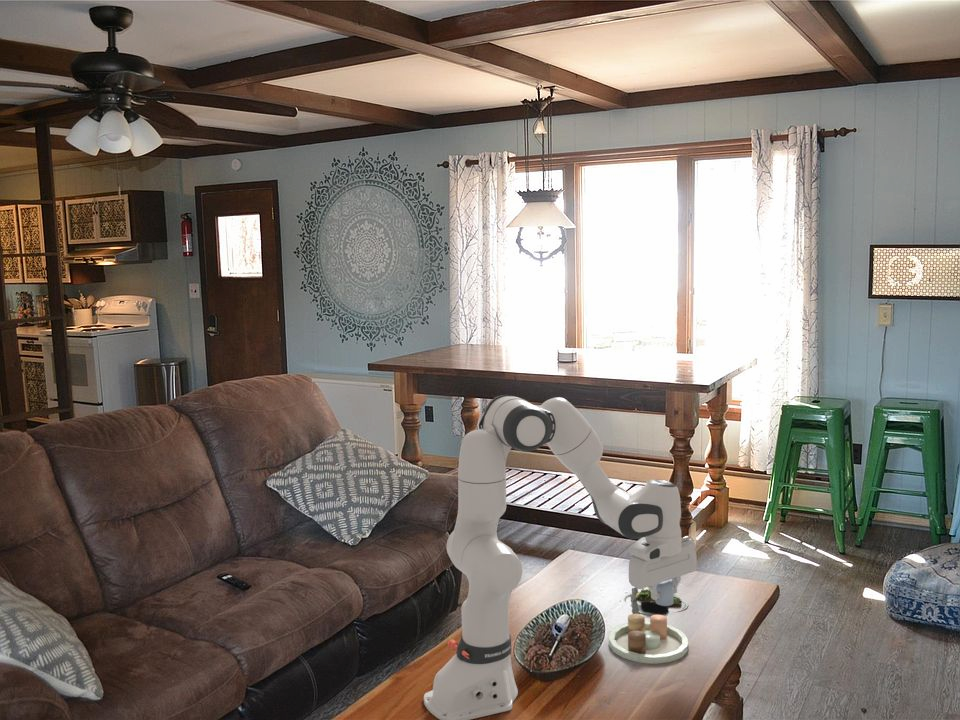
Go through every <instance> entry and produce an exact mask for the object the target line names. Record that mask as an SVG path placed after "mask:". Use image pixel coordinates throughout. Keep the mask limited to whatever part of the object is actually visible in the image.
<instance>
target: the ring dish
mask: <svg viewBox="0 0 960 720" xmlns="http://www.w3.org/2000/svg"><path fill="white" fill-rule="evenodd" d="M642 632H644V633H645V634H646V654H639V653H635V652H632V651H628V622H627V623H624V624H621V625H618V626H616V627H615V628H614V629H612V630H611V631H610V633H609V636H608V646H609V648H610V649H611V650H612V652H613V653H615V655H618V656H620V657H621V658H622V659H626V660H629V661H632V662H635V663H642V664H653V665H654V664H655V665H657V664H665V663H671V662H673V661H676V660H678V659H682V658H683V657H684V656H685V655H686V654H687V653H688V652H689V651H688V650H689V639H688V636H686V634H685V633H684V632H683V631H682V630H680V629H678V628H676V627H674V626H673V625H670V624H667V638H666V639H663V640H660V635H659V634H658V633H656V632H654V631H650V621H645V631H642Z"/></svg>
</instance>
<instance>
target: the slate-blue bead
mask: <svg viewBox="0 0 960 720" xmlns="http://www.w3.org/2000/svg"><path fill="white" fill-rule="evenodd" d="M671 581H672V580H667V581H664V582H661V583H658V584H657V588H655V589H656V591H657V592H660V599H658V600H656V603H657V604H658V605H661V606H670V605H672V604H673V603H674V598H673V582H671Z"/></svg>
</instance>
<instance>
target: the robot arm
mask: <svg viewBox="0 0 960 720" xmlns="http://www.w3.org/2000/svg"><path fill="white" fill-rule="evenodd" d="M601 441H602V440H600V437H599V436H598V433H597V432H596V431H595V429H594V428H593V426H592V425H591V424H590V422H589V421H588V419H586V417H584V416H583V414H582V413H581V412H580V411H579V409H577V408H576V407H575V406H574V405H573V404H572V403H571V402H570V401H568V399H565V398H564V397H560V396H559V397H558V396H557V397H552V398H549V399H547V400H545V401H544V402H543V403H541V405H539V406H536V405H535V404H533V403H530V401H528V400H526V399H524V398H521V397H518V396H516V395H513V394H501V395H499V396H495V397H494V398H493V399H491V400H490V401H489V402H488V404H487V405H486V408H485V409H484V412H483V415H482V417H481V419H480V421H479V423H478V429H473V430H471V431H469V432H468V433H466V434H465V435H464V436H463V437H462V439H461V443H460V444H461V445H460V449H459V456H458V465H457V471H458V472H457V475H458V476H457V479H458V480H457V487H458V488H457V491H458V492H457V493H458V494H457V497H458V500H457V503H458V504H457V505H458V506H457V516H456V520H455V525H454V529H453V531H452V532H451V533H450V534H449V536H448V538H447V541H446V553H447V555H448V557H449V560H450V561H451V562H452V564H453V566H454V567H455V568H456V569H458V570H459V571H460V572H461V573H463V574H464V575H465V576H466V578H467V580H468V585H469V587H468V593H467V597H466V599H465V600H464V601H463V603H462V605H461V607H460V608H461V609H460V610H461V632H462V633H461V634H462V635H461V636H460V639H459V642H457V641H456V640H455V639H450V640H448V642H447V646H448V648H450V649H451V650H452V651H455V654H454V655H453V656H452V657H451V658H450V659H449V660H448V662H446V664H445V665H444V666H443V667H441V669H440V670H438V672H437V673H436V674H435V676H434V678H433V679H434V680H433V686H432V689H431V690H430V691H427V692H425V693H424V694H423V704H424V706H425V708H426V709H427V711H428V712H429V713H431V714H432V716H434V717H436V719H438V720H473V719H478V718H482V717H486V716H492V715H495V714H499V713H504V712H508V711H511V710H512V709H513V703H514V701H515V700H516V698H517V696H518V694H519V693H518V692H519V689H518V687H517V684H516V681H515V676H514V672H513V668H512V666H513V665H512V660H511V659H512V658H511V654H512V650H513V649H512V636H511V633H510V624H509V623H510V622H509V621H510V620H509V618H510V617H509V610H510V608H509V606H510V600H511V595H512V592H513V590H514V589H515V588H516V587H517V586H518V585H519V583H520V581H521V579H522V575H523V566H522V565H523V564H522V563H521V560H520V559H519V557H518V556H517V554H516V553H515V552H514V551H513V549H512V548H511V547H509V546H508V545H507V544H505V543H504V542H503V541H501V540H499V538H498V534H497V531H498V524H499V522H500V518H501V517H502V516H503V515H504V514H505V513H506V509H507V469H506V466H507V465H506V463H507V459H508V455H509V453H510V451H511V450H512V449H514V450H516V451H520V452H526V453H527V452H532V451H535V450H538V449H539V448H541V447H542V446H543V445H545V444H546V445H547V446H548V448H549V449H550V450H551V452H552V453H553V454H554V456H555V457H556V458H557V460H559V462H560V463H561V464H562V465H563V466H564V467H565V468H566V469H567V470H569V471H570V472H571V473H573V474H574V475H575V476H576V477H577V479H578V480H579V482H580V483H581V484H582V486H583V487H584V489H585V490H586V492H587V493H588V494H589V497H590V498H591V502H592V506H593V510H594V513H595V516H596V518H597V519H598V520H599V521H600V522H601V523H602V524H605V525H606V526H609V527H610V528H611V529H613V530H615V531H616V532H617V533H619V534H621V535H622V536H623V537H625V538H627V539H631V540H637V541H635V542H634V543H632V544H631V545H630V546H629V554H630V555H631V557H630V558H629V561H628V582H629V584H630V585H631V586H632V588H637V589H638V590H642V589H643V588H644V589H646V588H647V589H649V590H650V592H651V598H652V599H653V600H658V599H660V592H657V591H656V589H655V588H657V584H658V583H661V582H664V581H667V580H669V581H671V582H673V594H675V595H676V594H677V593H678V586H679V585H680V582H681V579H682V576H685V575H687V574H691V573H694V572H696V570H697V568H698V559H697V552H696V547H695V540H694V539H693V537H691V536H689V535H686V536H684V537H682V528H681V526H680V522H681V518H682V507H681V506H682V505H681V503H682V502H681V496H680V491H679V488H678V486H677V485H676V484H675V483H673V482H670V481H668V480H666V479H665V480H664V479H660V478H659V479H658V478H652V479H648V480H647V481H646V483H645V485H643V487H642V488H641V489H639V490H638V491H636V492H635V493H633V494H631V493H629V492H628V491H626V489H624V488H622V487H620V486H619V485H616V484H614V483H613V482H612V481H611V480H610V478H609V476H608V475H607V474H606V472H605V471H604V469H603V468H602V467H601V465H600V463H599V462H600V460H601V458H602V456H603V453H604V445H603V444H602V442H601Z"/></svg>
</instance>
